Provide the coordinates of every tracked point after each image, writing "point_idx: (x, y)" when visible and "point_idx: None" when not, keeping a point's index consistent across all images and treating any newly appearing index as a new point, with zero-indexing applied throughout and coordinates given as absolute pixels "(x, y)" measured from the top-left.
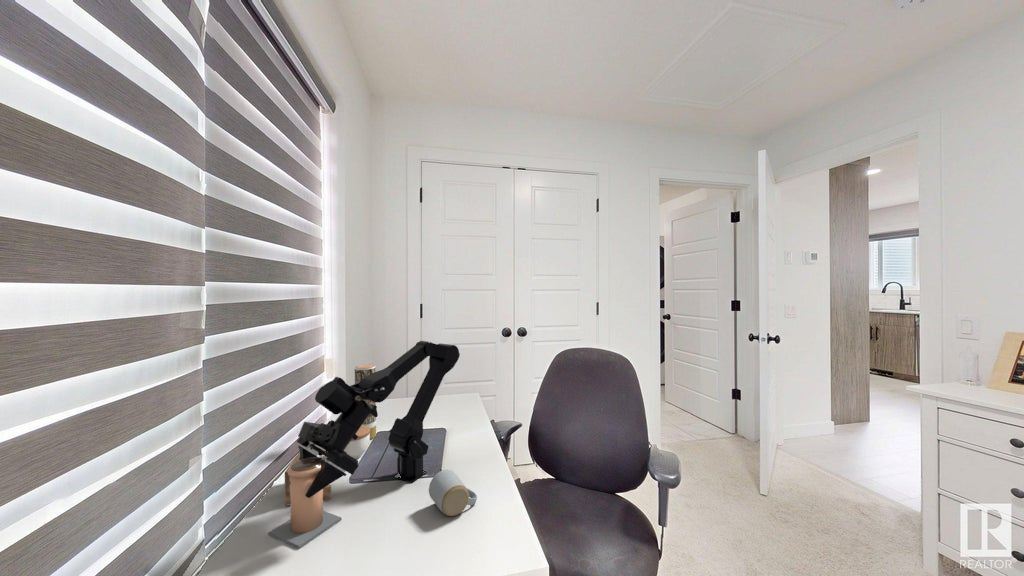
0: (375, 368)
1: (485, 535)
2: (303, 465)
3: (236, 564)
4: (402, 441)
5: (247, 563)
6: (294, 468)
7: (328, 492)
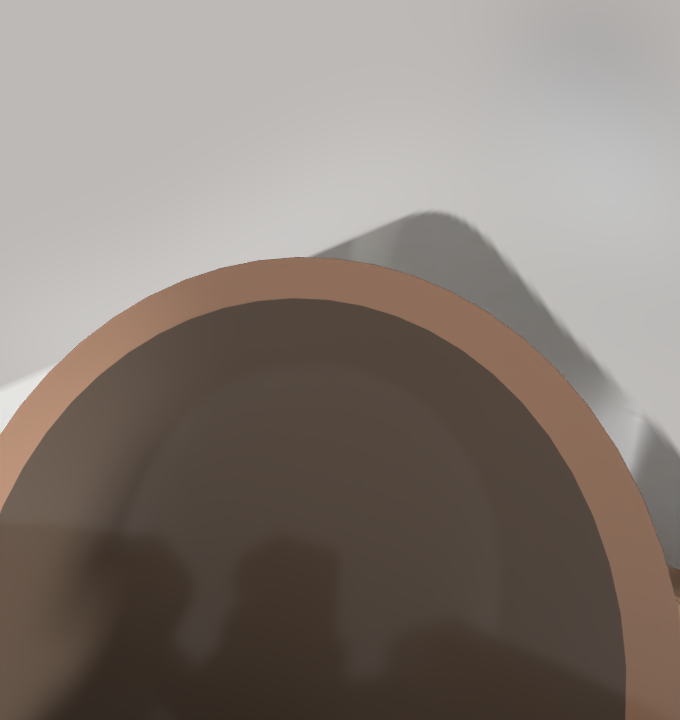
0: None
1: None
2: (295, 514)
3: (382, 238)
4: None
5: (353, 254)
6: (338, 341)
7: None
